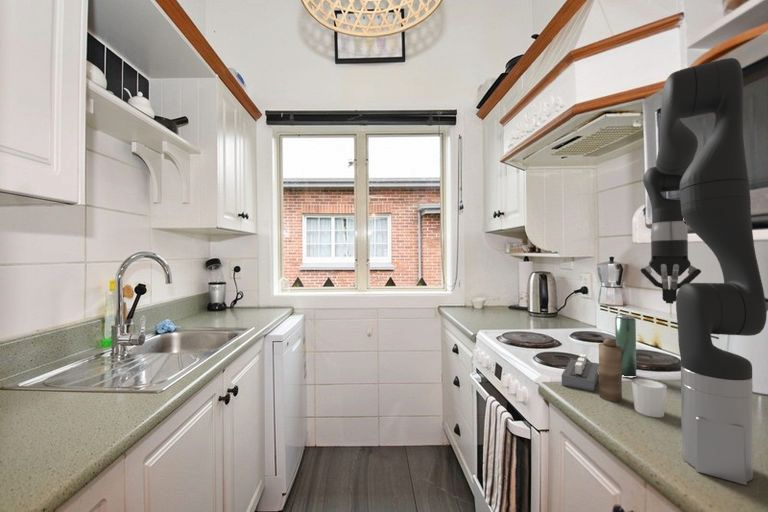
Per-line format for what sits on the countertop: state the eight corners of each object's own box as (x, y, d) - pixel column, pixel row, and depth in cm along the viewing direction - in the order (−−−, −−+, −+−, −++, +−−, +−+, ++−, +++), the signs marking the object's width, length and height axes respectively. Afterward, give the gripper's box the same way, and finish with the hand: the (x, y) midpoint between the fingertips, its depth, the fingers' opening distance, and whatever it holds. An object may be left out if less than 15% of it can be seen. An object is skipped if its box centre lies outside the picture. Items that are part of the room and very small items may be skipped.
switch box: (593, 391, 93) (593, 380, 93) (561, 385, 98) (561, 374, 98) (599, 372, 108) (598, 363, 108) (571, 367, 112) (570, 358, 112)
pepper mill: (621, 403, 86) (620, 341, 86) (598, 398, 89) (597, 338, 89) (622, 396, 90) (621, 337, 90) (600, 392, 93) (599, 335, 93)
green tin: (636, 379, 101) (635, 318, 101) (615, 376, 104) (614, 316, 104) (636, 374, 106) (635, 315, 105) (616, 371, 109) (615, 313, 109)
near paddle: (581, 374, 97) (581, 365, 97) (575, 373, 98) (575, 364, 98) (582, 371, 100) (582, 362, 100) (576, 370, 101) (576, 361, 100)
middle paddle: (583, 369, 101) (583, 361, 101) (577, 368, 102) (577, 360, 102) (584, 366, 104) (584, 358, 104) (578, 365, 104) (578, 357, 104)
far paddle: (585, 365, 105) (585, 356, 105) (579, 364, 106) (579, 355, 106) (586, 362, 108) (586, 354, 108) (580, 361, 108) (580, 353, 108)
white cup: (674, 419, 77) (674, 389, 77) (640, 417, 79) (640, 387, 79) (656, 406, 84) (656, 378, 84) (626, 404, 85) (625, 377, 85)
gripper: (638, 239, 91) (638, 303, 91) (704, 237, 83) (705, 307, 83) (637, 240, 97) (638, 299, 97) (700, 238, 89) (700, 303, 89)
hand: (669, 303), depth 90 cm, fingers closed
